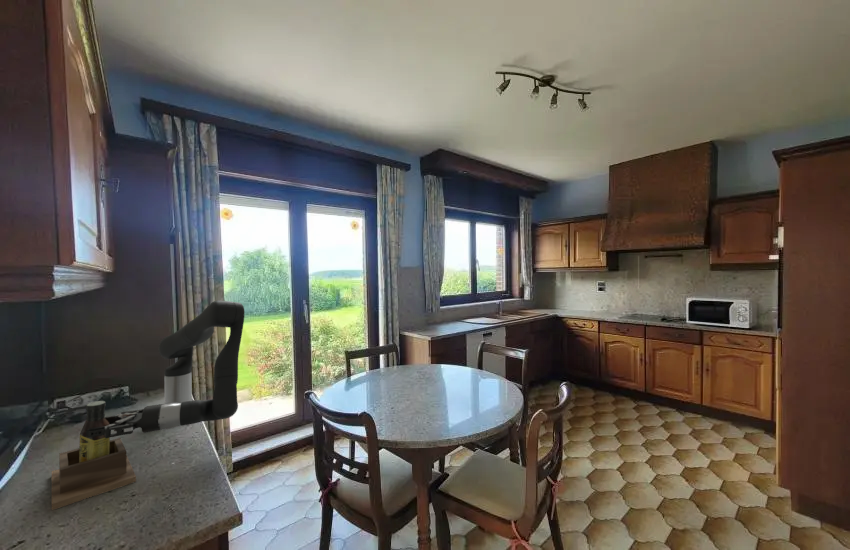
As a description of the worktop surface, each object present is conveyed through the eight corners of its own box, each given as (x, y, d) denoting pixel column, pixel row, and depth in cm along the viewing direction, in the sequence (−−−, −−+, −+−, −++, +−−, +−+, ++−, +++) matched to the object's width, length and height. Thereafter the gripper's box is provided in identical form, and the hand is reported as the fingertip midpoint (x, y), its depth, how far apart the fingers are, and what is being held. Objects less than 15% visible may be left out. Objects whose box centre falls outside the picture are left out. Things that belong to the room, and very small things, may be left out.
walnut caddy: (51, 476, 100) (51, 450, 100) (124, 455, 112) (124, 431, 112) (51, 510, 85) (51, 479, 85) (136, 481, 97) (135, 454, 97)
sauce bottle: (78, 473, 98) (79, 402, 99) (107, 464, 103) (108, 397, 103) (79, 482, 94) (80, 408, 94) (110, 472, 99) (111, 402, 99)
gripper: (168, 397, 112) (102, 406, 105) (157, 412, 99) (82, 423, 92) (168, 420, 112) (102, 431, 105) (158, 438, 99) (82, 451, 92)
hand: (93, 427), depth 98 cm, fingers open, 8 cm apart
